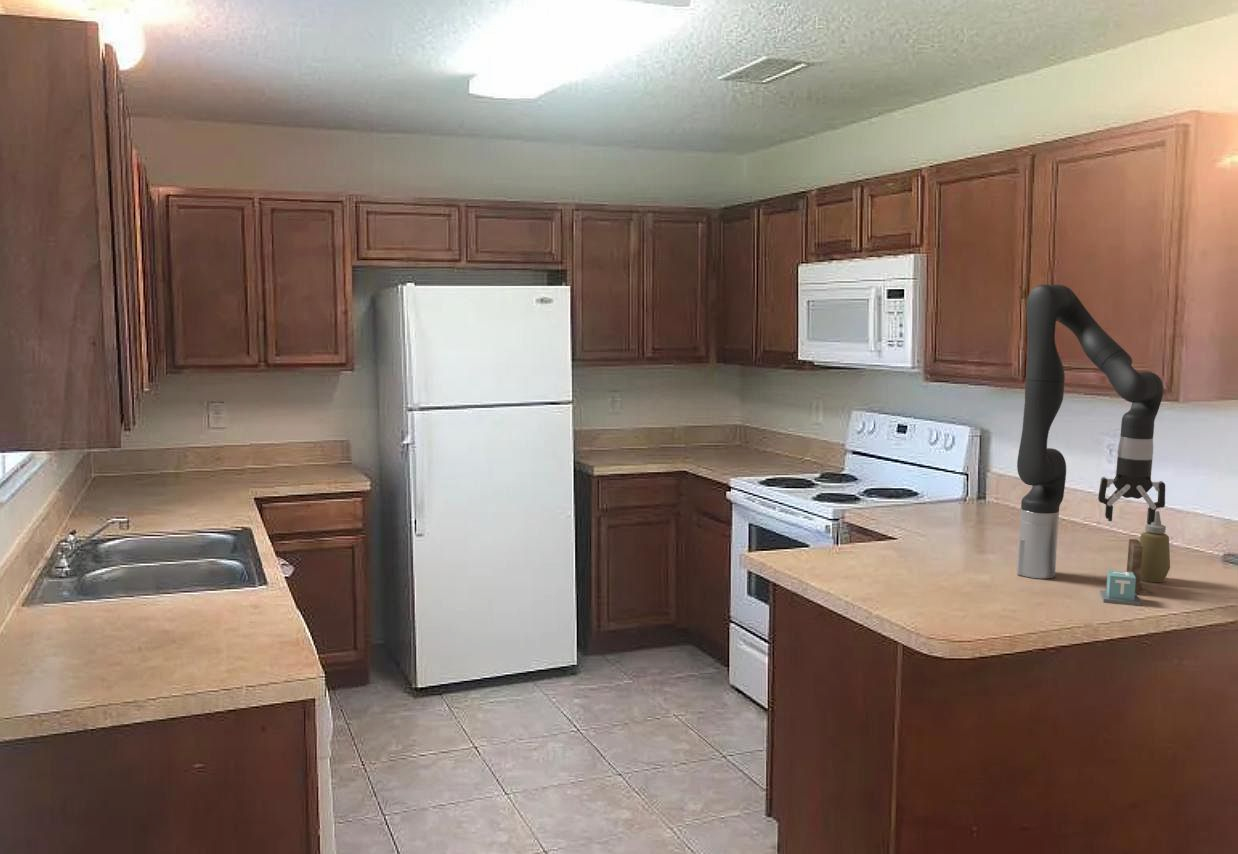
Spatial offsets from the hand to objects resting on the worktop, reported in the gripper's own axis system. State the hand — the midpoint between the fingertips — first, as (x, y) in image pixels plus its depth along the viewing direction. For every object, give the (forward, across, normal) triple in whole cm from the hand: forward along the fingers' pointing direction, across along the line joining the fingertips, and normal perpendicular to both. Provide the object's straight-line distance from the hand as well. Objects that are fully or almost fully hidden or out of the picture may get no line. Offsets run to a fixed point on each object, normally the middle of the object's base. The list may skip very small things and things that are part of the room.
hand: (1129, 522), depth 250 cm
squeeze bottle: (+19, +9, +20) cm, 29 cm away
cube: (+18, -1, -3) cm, 18 cm away
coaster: (+19, -1, -2) cm, 19 cm away
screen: (+19, +3, +8) cm, 20 cm away
